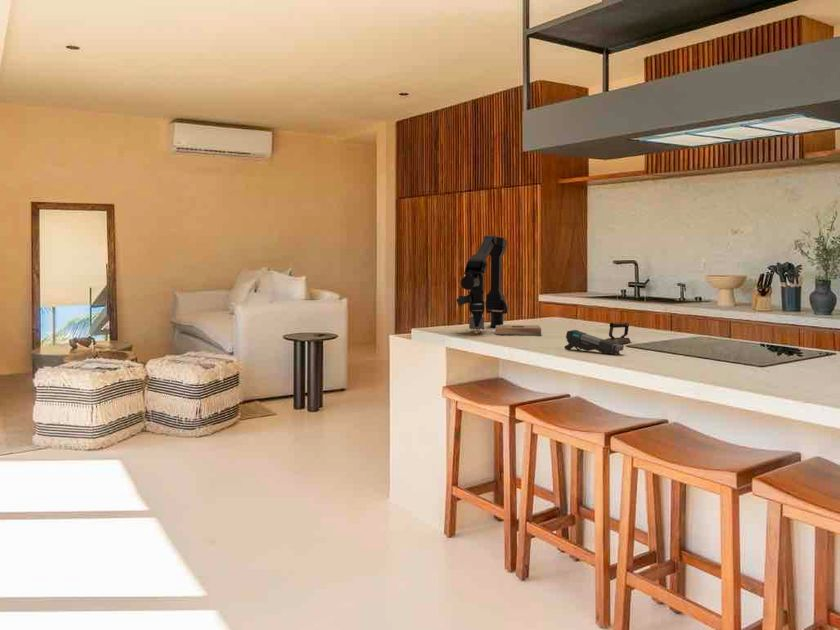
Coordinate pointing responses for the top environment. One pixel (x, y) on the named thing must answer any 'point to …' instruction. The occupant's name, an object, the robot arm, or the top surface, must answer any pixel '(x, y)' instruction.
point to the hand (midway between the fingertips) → (476, 325)
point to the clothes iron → (622, 339)
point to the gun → (591, 343)
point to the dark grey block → (472, 324)
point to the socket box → (518, 330)
